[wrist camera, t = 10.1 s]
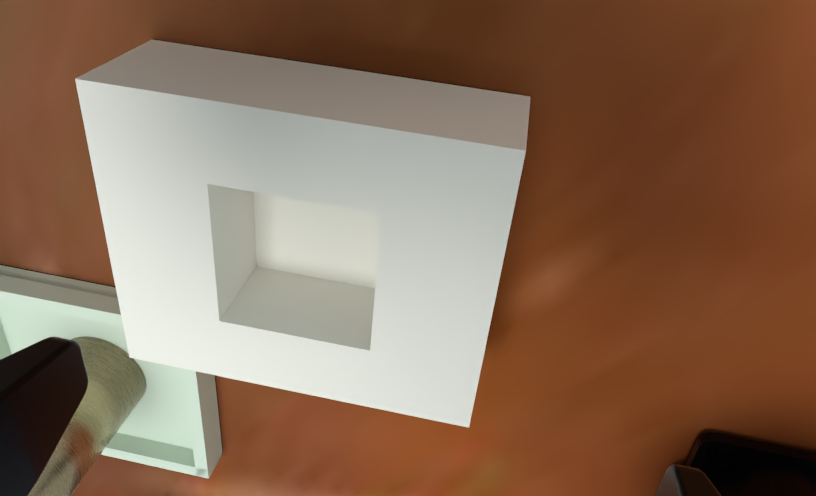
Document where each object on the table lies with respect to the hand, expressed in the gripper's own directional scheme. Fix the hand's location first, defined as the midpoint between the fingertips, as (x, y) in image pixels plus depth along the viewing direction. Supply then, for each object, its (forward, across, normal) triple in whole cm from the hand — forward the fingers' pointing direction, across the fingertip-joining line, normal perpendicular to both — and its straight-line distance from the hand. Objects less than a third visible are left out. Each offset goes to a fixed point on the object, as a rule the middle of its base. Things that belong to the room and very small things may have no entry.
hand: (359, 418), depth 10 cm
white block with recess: (+12, +4, +4) cm, 14 cm away
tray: (+12, +14, +14) cm, 23 cm away
